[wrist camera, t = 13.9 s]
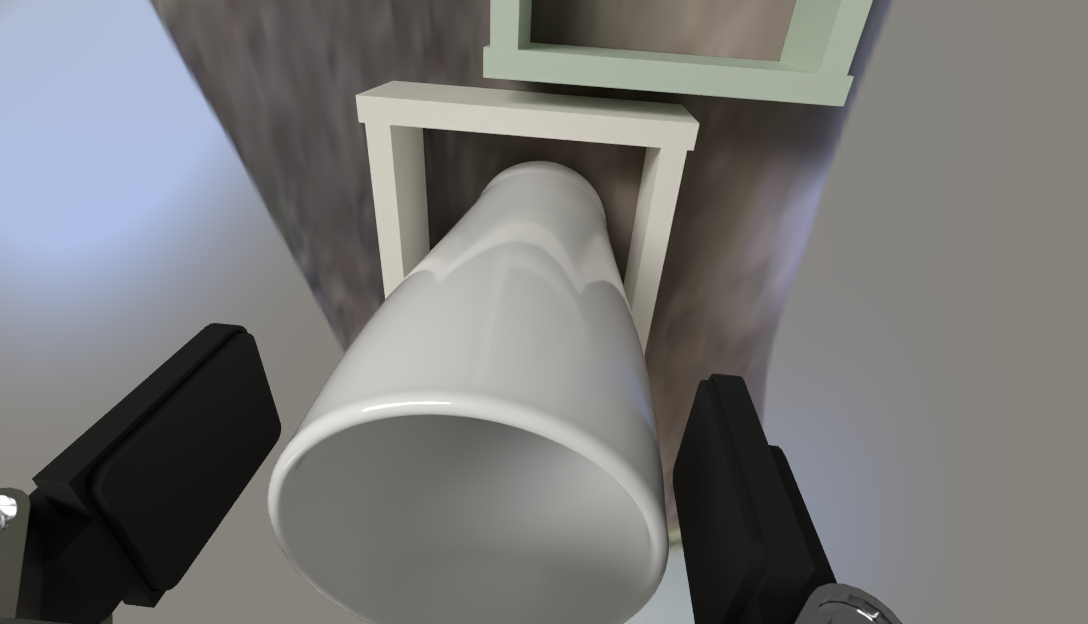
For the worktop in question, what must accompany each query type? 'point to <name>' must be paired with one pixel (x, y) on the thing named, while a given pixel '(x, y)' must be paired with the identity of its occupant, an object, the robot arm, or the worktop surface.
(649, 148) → the cream frame
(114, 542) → the robot arm
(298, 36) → the worktop surface
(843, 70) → the sage frame
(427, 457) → the white cup
